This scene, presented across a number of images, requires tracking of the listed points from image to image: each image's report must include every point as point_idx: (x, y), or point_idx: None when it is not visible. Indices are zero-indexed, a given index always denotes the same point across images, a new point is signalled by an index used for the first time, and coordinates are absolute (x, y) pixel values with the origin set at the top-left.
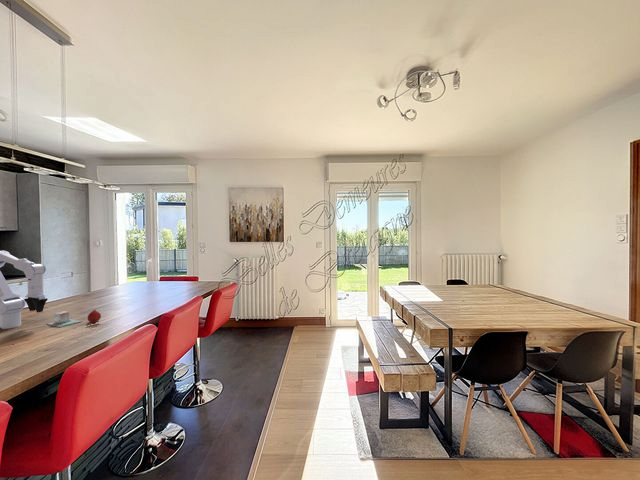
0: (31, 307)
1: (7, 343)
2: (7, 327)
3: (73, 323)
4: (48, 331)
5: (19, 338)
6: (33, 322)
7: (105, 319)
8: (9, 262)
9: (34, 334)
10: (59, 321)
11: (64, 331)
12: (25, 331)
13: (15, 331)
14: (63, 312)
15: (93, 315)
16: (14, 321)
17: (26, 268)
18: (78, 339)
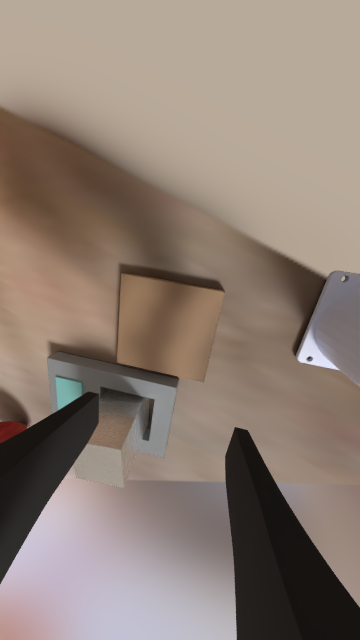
0: (240, 477)
1: (26, 129)
2: (350, 297)
3: (51, 401)
4: (71, 322)
5: (71, 209)
6: (341, 421)
7: None
8: None
9: (78, 275)
10: (103, 402)
11: (6, 334)
12: (139, 277)
13: (250, 288)
14: (87, 465)
15: None
16: (348, 339)
17: None
18: None
